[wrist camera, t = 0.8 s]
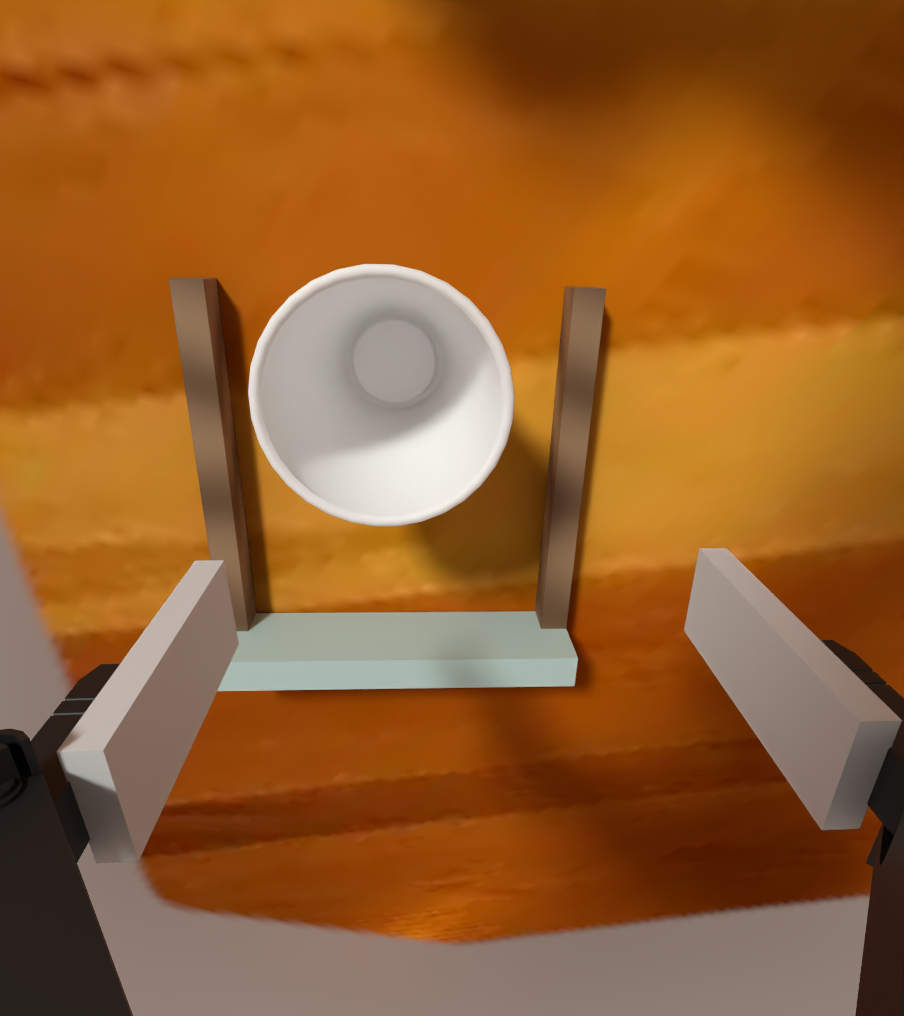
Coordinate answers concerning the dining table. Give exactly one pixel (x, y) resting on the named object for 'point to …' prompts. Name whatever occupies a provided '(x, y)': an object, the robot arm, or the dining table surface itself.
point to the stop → (399, 652)
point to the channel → (221, 466)
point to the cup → (381, 395)
